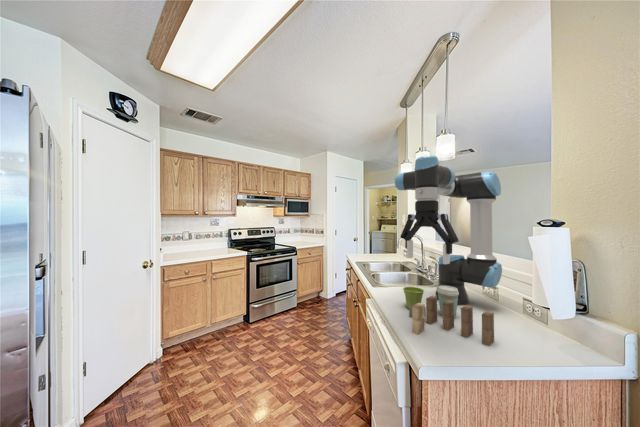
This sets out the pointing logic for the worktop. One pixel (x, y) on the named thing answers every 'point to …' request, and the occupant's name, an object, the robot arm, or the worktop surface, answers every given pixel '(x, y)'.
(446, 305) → the tile
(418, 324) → the tile
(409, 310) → the block
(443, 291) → the coffee cup
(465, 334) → the tile
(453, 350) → the worktop surface
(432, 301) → the tile
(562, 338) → the worktop surface
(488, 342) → the tile
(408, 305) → the plant pot
